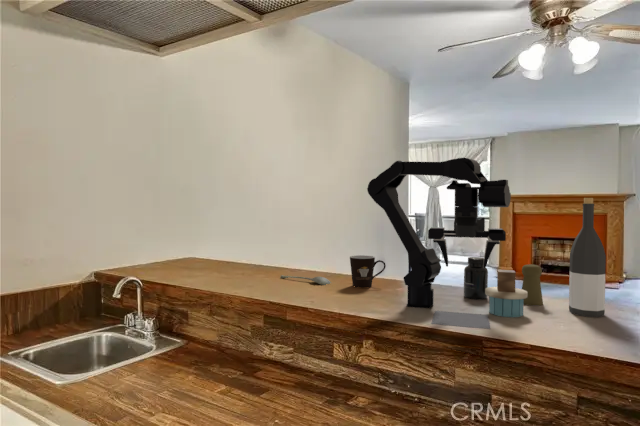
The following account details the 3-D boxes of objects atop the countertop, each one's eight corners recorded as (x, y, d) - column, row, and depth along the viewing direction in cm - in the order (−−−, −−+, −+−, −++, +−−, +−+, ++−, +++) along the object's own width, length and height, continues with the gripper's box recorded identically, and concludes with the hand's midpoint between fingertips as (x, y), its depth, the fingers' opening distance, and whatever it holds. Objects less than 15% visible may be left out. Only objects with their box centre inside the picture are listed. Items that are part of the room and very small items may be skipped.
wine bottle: (561, 309, 119) (563, 198, 118) (590, 309, 119) (592, 198, 118) (581, 317, 111) (584, 197, 110) (612, 317, 111) (614, 197, 110)
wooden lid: (485, 297, 110) (486, 273, 110) (484, 290, 120) (484, 267, 120) (529, 300, 107) (530, 275, 107) (525, 292, 117) (525, 269, 116)
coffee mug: (346, 287, 149) (346, 257, 148) (354, 282, 157) (354, 254, 156) (379, 290, 144) (380, 259, 144) (386, 285, 152) (386, 256, 152)
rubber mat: (431, 325, 103) (431, 323, 103) (434, 312, 116) (434, 310, 116) (490, 330, 99) (490, 328, 99) (487, 316, 112) (487, 314, 112)
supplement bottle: (463, 298, 132) (463, 258, 131) (464, 294, 138) (464, 256, 138) (487, 300, 129) (488, 259, 129) (487, 295, 136) (487, 257, 136)
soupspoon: (324, 289, 151) (334, 287, 156) (324, 279, 151) (335, 277, 156) (275, 280, 164) (287, 278, 169) (276, 271, 164) (287, 269, 169)
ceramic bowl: (490, 316, 111) (490, 297, 111) (488, 309, 119) (488, 291, 119) (524, 319, 109) (525, 299, 108) (520, 311, 116) (521, 293, 116)
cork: (545, 306, 123) (546, 266, 122) (522, 305, 124) (523, 266, 124) (539, 301, 129) (540, 263, 128) (517, 300, 130) (518, 263, 130)
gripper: (426, 207, 109) (426, 270, 110) (508, 207, 104) (507, 273, 104) (430, 206, 120) (429, 263, 120) (504, 207, 114) (503, 267, 115)
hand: (465, 267), depth 115 cm, fingers open, 9 cm apart
